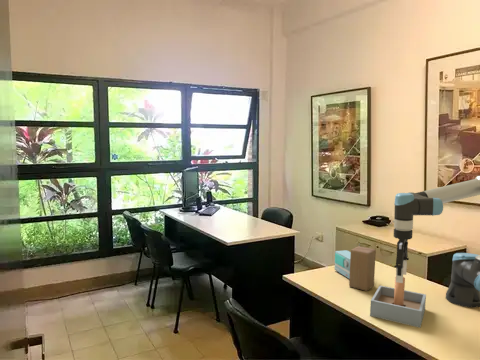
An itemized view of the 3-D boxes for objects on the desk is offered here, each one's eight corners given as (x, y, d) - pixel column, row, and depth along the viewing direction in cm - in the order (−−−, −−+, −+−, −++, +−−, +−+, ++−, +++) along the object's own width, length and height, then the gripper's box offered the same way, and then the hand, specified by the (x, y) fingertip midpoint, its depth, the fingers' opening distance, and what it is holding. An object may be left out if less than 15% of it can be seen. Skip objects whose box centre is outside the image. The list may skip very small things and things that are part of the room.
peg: (403, 311, 172) (405, 277, 170) (402, 315, 168) (404, 279, 167) (393, 309, 174) (396, 275, 172) (392, 313, 170) (394, 278, 169)
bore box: (425, 309, 175) (426, 294, 174) (420, 327, 158) (421, 311, 157) (378, 299, 185) (379, 285, 184) (369, 315, 168) (370, 300, 167)
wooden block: (356, 281, 208) (357, 245, 205) (374, 286, 201) (376, 249, 199) (348, 286, 200) (350, 249, 198) (367, 292, 194) (369, 253, 191)
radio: (332, 271, 223) (333, 237, 221) (346, 269, 226) (347, 236, 224) (348, 281, 208) (349, 244, 206) (362, 279, 211) (364, 243, 209)
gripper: (397, 222, 179) (396, 268, 181) (389, 233, 159) (387, 285, 161) (415, 224, 175) (413, 271, 177) (409, 235, 155) (406, 288, 158)
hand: (401, 278), depth 169 cm, fingers open, 10 cm apart
